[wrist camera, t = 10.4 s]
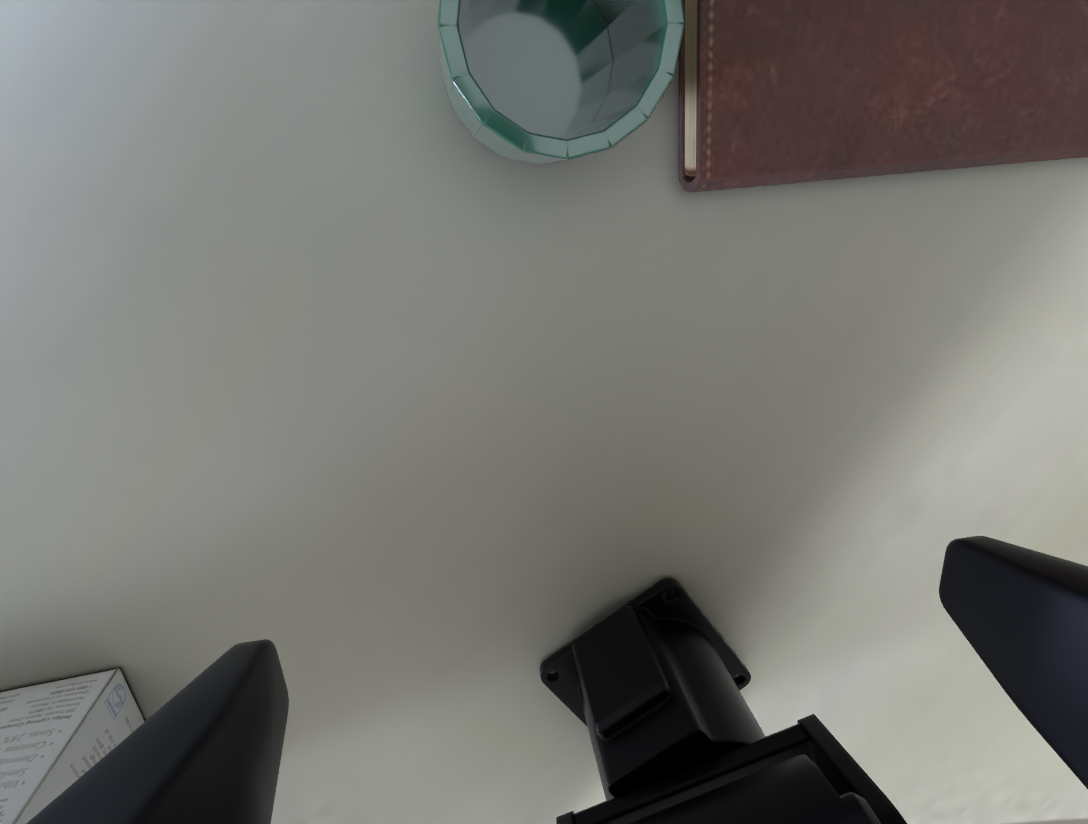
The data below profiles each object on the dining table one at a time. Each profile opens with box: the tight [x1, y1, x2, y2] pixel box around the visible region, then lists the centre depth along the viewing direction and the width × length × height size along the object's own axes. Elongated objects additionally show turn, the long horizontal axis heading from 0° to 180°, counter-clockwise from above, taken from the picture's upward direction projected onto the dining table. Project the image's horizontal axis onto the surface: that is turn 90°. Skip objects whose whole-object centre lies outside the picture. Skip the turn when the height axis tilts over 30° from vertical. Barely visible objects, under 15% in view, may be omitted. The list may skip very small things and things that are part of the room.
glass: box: [438, 0, 685, 164], centre depth 15 cm, size 5×5×5 cm
